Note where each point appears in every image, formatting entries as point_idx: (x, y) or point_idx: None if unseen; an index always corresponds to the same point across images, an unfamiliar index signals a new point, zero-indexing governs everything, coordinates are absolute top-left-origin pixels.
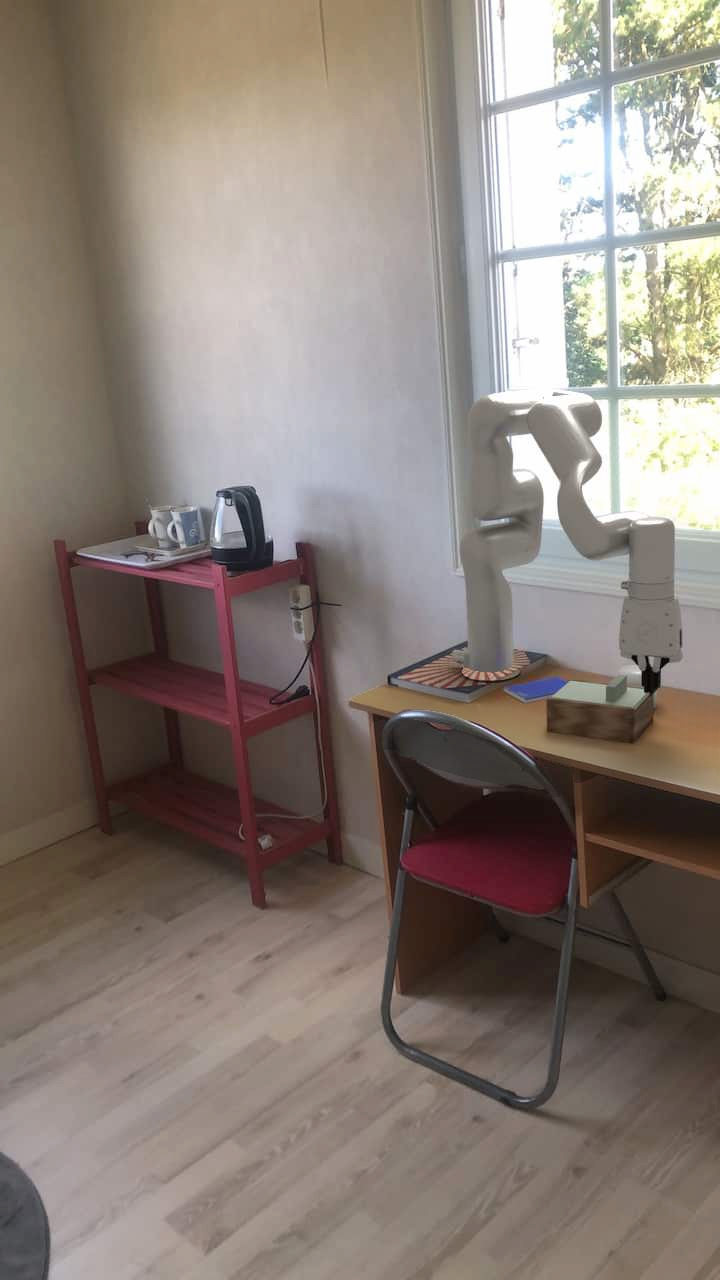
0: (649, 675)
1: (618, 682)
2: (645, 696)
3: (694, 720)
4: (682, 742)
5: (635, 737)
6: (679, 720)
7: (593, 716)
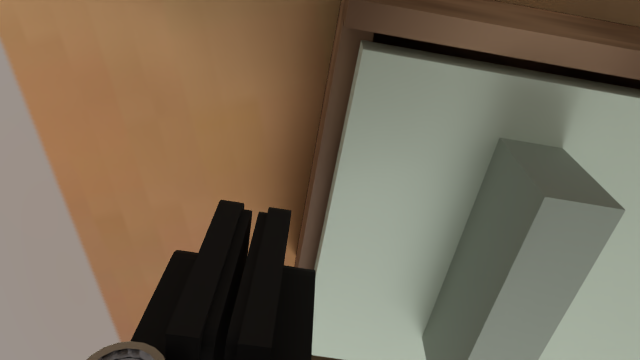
0: (218, 312)
1: (504, 302)
2: None
3: (148, 277)
4: (121, 39)
5: (339, 11)
6: None
7: (618, 36)
